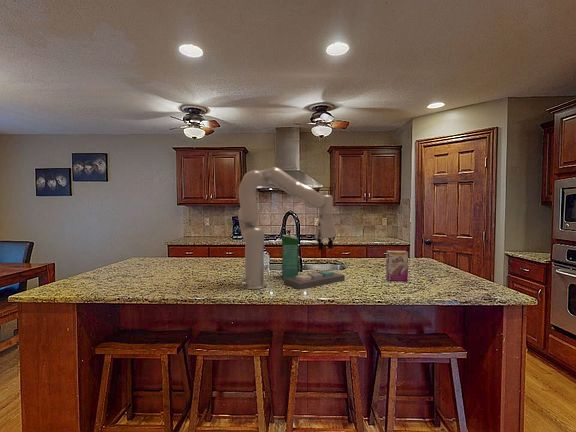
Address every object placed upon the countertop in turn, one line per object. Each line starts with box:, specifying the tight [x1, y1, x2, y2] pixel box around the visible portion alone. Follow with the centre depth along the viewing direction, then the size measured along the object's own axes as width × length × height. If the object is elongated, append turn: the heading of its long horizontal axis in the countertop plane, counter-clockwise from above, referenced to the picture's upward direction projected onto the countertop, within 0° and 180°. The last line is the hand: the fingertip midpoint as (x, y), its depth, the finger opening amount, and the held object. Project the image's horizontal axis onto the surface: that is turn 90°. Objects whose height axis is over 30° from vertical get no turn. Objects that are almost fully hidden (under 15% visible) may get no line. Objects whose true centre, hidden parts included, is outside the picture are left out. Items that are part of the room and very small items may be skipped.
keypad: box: [283, 270, 346, 291], centre depth 175 cm, size 32×14×3 cm, turn 126°
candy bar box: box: [385, 250, 409, 282], centre depth 179 cm, size 11×5×16 cm, turn 84°
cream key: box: [296, 274, 311, 281], centre depth 170 cm, size 6×6×2 cm
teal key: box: [317, 270, 333, 277], centre depth 179 cm, size 6×6×2 cm
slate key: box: [306, 272, 323, 279], centre depth 175 cm, size 6×6×2 cm
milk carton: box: [281, 234, 299, 280], centre depth 186 cm, size 9×9×25 cm
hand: (325, 248), depth 179 cm, fingers open, 6 cm apart
